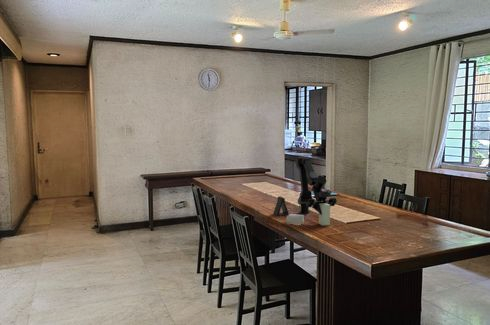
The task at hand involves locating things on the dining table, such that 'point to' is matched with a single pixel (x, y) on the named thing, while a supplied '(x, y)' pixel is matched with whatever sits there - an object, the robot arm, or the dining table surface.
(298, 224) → the base slab
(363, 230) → the dining table surface
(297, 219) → the top slab
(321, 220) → the pillar
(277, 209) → the phone stand
